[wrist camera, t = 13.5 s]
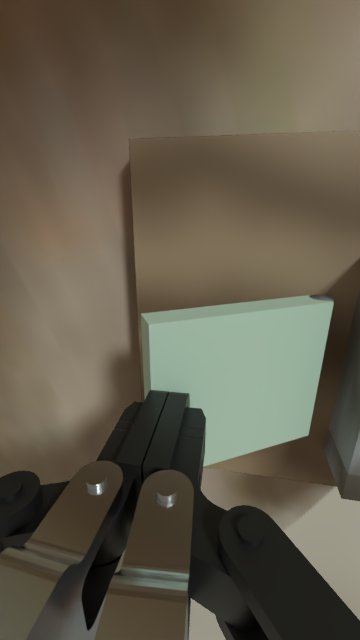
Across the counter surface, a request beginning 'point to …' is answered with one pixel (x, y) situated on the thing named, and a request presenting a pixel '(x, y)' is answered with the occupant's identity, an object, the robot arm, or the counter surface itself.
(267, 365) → the latch flap
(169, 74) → the counter surface
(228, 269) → the holder board
